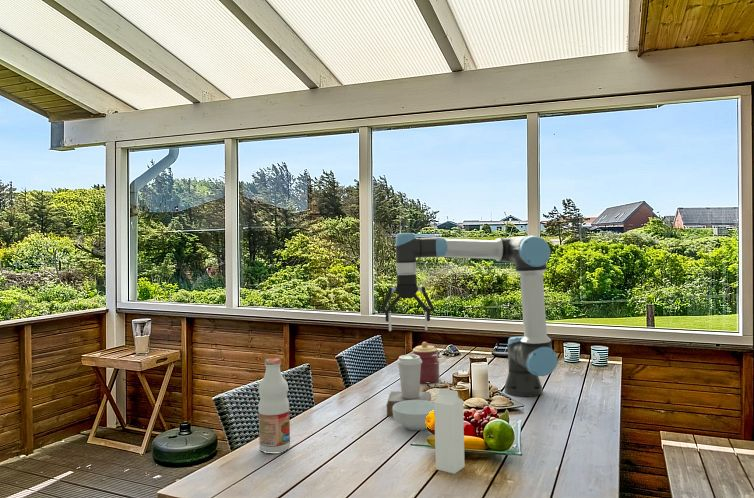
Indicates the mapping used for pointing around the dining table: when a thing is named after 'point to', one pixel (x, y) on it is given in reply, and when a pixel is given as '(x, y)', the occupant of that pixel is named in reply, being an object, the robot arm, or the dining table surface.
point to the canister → (428, 363)
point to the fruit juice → (273, 409)
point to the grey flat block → (397, 397)
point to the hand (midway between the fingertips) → (408, 330)
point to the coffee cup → (409, 375)
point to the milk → (449, 431)
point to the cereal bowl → (412, 413)
